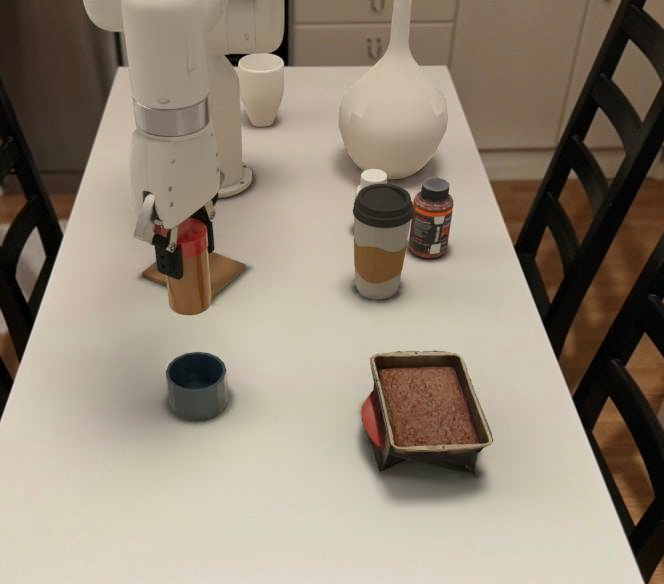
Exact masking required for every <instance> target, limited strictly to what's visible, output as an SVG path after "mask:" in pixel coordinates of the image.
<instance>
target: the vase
mask: <svg viewBox="0 0 664 584" xmlns="http://www.w3.org/2000/svg"><path fill="white" fill-rule="evenodd" d="M412 3H413V0H393V6H392V14H391V23H390V24H391V25H390V38H389V44H388V47H387V49H386V51H385V52H384V54H383V56H382V57H381V58H380V59H379V60H377V62H376V63H375V64H374V65H372V66H371V68H370V69H369V70H367V72H366V73H364V74H363V75H362V76H361V77H360V78H359V79H358V80H356V81H355V82H354V83H353V84H352V85H351V86H349V87H348V88H347V89H346V90H345V91H344V93H343V94H342V98H341V101H340V104H339V109H338V129H339V132H340V135H341V138H342V139H341V140H342V142H343V145H344V148H345V150H346V152H347V154H348V155H349V157H350V158H351V160H352V161H353V163H354V164H355V165H356V166H357V167H358V168H359V169H361V170H362V172H364V171H366V170H369V169H379V170H382V171H384V172H385V173H386V174H387V180H401V179H405V178H409V177H410V176H413V175H414V174H416V173H417V172H419V171H421V169H422V168H424V167H425V166H426V165H427V164H428V163H429V162H430V161H431V159H432V158H434V155H435V154H436V153H437V151H438V148H439V146H440V144H441V142H442V140H443V138H444V136H445V134H446V132H447V130H448V129H447V128H448V122H449V114H448V103H447V98H446V97H445V95H444V94H443V92H442V91H441V90H440V89H439V88H438V87H437V85H436V84H434V82H433V81H432V80H431V79H430V78H429V77H428V75H427V74H426V73H425V72H424V71H423V70H422V68H421V67H420V65H419V63H417V62H416V60H415V59H414V57H413V55H412V52H411V50H410V44H409V42H410V29H411V19H412V18H411V17H412Z"/></svg>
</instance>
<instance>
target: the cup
mask: <svg viewBox="0 0 664 584" xmlns="http://www.w3.org/2000/svg"><path fill="white" fill-rule="evenodd" d="M165 378H166V386H167V388H166V389H167V394H168V395H167V396H168V401H169V406H170V407H169V408H170V409H171V410H172V412H173V413H174V414H175V415H177V416H178V417H180V418H182V419H184V420H187V421H195V422H196V421H206V420H210V419H212V418H215V417H216V416H218V415H219V414H221V413H222V412H223V411H224V410H225V409H226V407H227V405H228V401H229V390H228V389H229V387H228V373H227V367H226V363H225V362H224V361H223V360H222V359H221V358H220V357H219V356H217V355H214V354H212V353H210V352H205V351H192V352H186V353H184V354H181V355H179V356H177V357H175V358H173V359H172V361H170V362H169V363H168V365H167V367H166V370H165Z"/></svg>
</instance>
